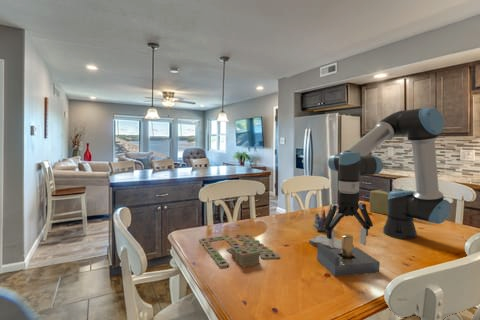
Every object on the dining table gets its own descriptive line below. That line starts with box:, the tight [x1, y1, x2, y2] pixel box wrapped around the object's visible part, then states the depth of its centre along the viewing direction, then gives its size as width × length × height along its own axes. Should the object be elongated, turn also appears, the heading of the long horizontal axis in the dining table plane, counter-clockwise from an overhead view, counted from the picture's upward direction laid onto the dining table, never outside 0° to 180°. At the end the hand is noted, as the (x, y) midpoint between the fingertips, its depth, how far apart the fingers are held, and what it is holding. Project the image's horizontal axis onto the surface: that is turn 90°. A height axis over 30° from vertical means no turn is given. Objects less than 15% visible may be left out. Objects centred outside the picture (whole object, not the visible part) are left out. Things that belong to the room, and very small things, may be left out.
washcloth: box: [308, 234, 355, 249], centre depth 125 cm, size 12×18×3 cm, turn 45°
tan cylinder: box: [341, 233, 354, 259], centre depth 104 cm, size 4×4×12 cm
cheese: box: [369, 189, 390, 216], centre depth 178 cm, size 22×10×15 cm, turn 24°
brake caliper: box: [312, 209, 327, 232], centre depth 148 cm, size 11×11×12 cm
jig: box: [316, 243, 380, 278], centre depth 104 cm, size 18×14×7 cm
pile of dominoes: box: [198, 234, 281, 269], centre depth 121 cm, size 35×27×6 cm
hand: (347, 245), depth 104 cm, fingers open, 13 cm apart
